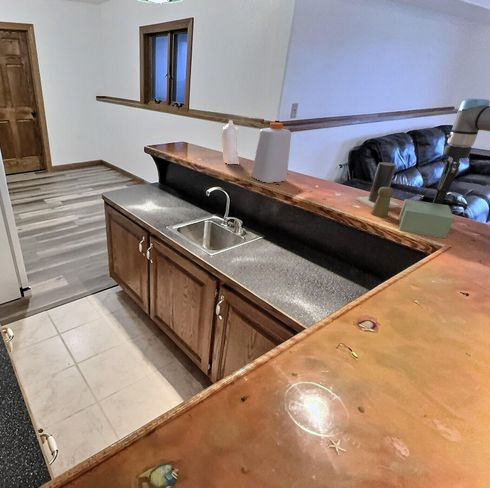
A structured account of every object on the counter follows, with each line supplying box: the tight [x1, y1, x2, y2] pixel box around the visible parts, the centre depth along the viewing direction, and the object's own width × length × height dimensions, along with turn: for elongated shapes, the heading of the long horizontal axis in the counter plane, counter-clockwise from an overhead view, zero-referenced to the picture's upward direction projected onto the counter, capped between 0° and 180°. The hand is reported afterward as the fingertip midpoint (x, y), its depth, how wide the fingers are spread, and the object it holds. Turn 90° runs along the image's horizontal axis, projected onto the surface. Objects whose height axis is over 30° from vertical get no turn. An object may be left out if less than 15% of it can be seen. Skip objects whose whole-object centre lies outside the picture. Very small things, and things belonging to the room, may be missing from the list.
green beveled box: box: [398, 198, 455, 240], centre depth 126 cm, size 15×14×8 cm
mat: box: [354, 196, 400, 209], centre depth 151 cm, size 12×12×1 cm
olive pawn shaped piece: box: [370, 186, 395, 218], centre depth 137 cm, size 6×6×11 cm
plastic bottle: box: [251, 122, 292, 184], centre depth 176 cm, size 15×15×28 cm
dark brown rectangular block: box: [368, 161, 397, 203], centre depth 147 cm, size 6×6×16 cm
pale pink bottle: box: [221, 119, 240, 165], centre depth 207 cm, size 12×11×25 cm
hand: (435, 207), depth 136 cm, fingers closed
